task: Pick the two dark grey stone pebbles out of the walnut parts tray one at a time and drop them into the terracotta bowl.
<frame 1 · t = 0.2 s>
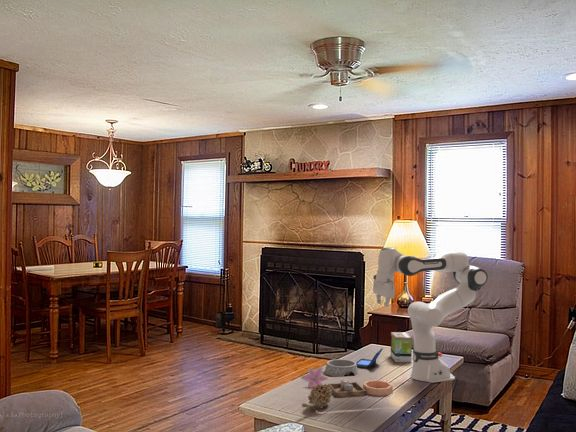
hand: (382, 304, 271), 39 cm above the table, tool pointing down, fingers open, 8 cm apart
tea box: (401, 359, 312), on the table
handheld game console: (368, 366, 299), on the table
dog bowl: (341, 372, 285), on the table
pine cone: (316, 410, 228), on the table
pebble b: (344, 389, 253), point 1 cm above the table, touching tray
lily: (314, 388, 259), on the table
bowl: (377, 392, 251), on the table
pebble a: (348, 393, 247), point 1 cm above the table, touching tray
tray: (346, 393, 250), on the table
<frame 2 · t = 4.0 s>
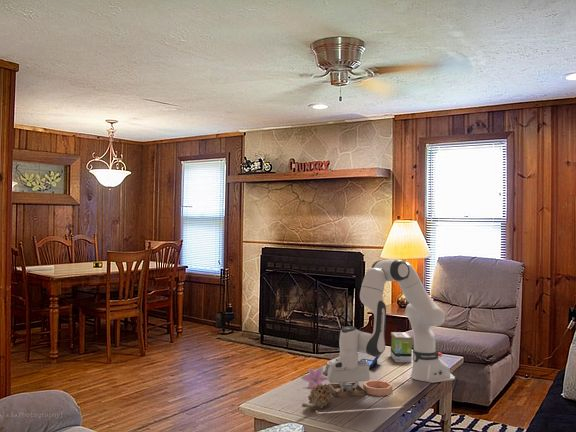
hand: (348, 391, 247), 2 cm above the table, tool pointing down, fingers closed on pebble a, 4 cm apart
pebble a: (348, 393, 247), point 1 cm above the table, touching gripper, tray
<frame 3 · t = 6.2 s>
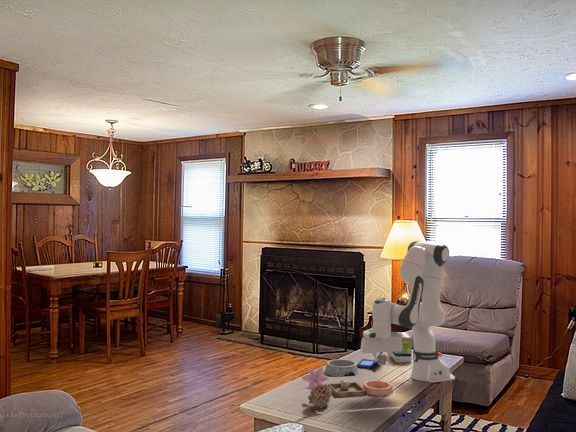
hand: (381, 361, 252), 15 cm above the table, tool pointing down, fingers closed on pebble a, 4 cm apart
pebble a: (381, 363, 252), point 14 cm above the table, touching gripper
when the fingers open (5 cm above the table, at t = 8.3 s): pebble a drops 3 cm, resting on bowl.
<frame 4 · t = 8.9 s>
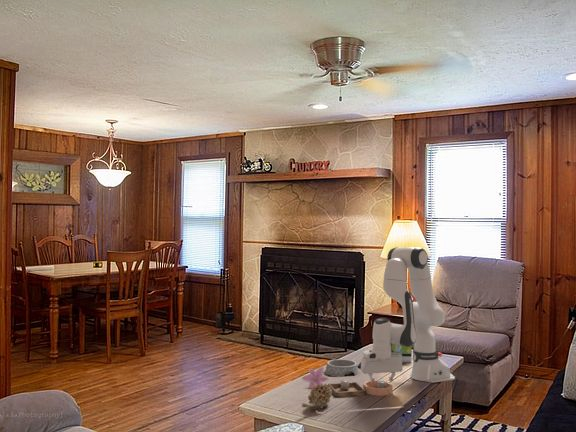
hand: (381, 381, 252), 5 cm above the table, tool pointing down, fingers open, 8 cm apart
pebble a: (381, 390, 252), point 1 cm above the table, touching bowl
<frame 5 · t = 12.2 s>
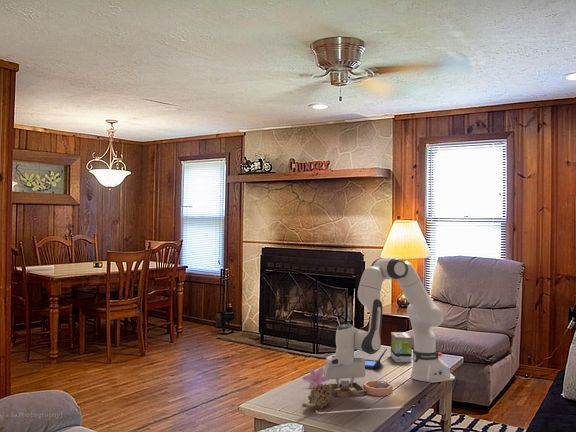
hand: (344, 387, 253), 2 cm above the table, tool pointing down, fingers closed on pebble b, 4 cm apart
pebble b: (344, 389, 253), point 1 cm above the table, touching gripper, tray
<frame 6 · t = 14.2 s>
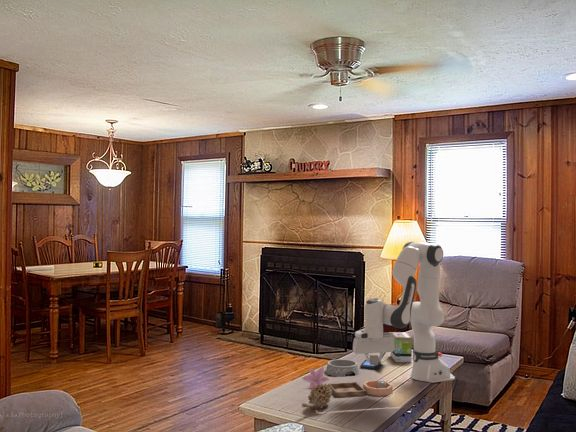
hand: (373, 361, 251), 15 cm above the table, tool pointing down, fingers closed on pebble b, 4 cm apart
pebble b: (374, 364, 251), point 14 cm above the table, touching gripper
when the fingers open (5 cm above the table, at t = 16.4 s): pebble b drops 3 cm, resting on bowl.
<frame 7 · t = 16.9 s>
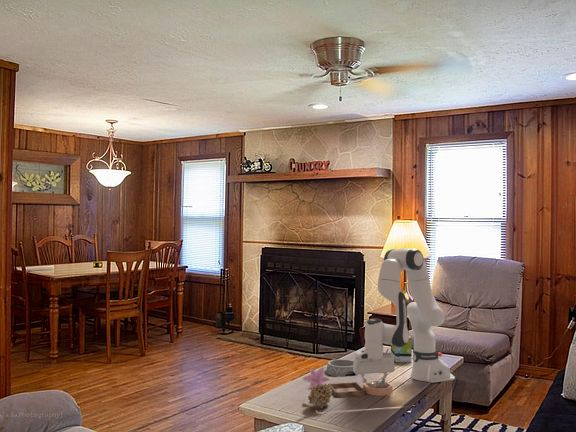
hand: (373, 382, 251), 5 cm above the table, tool pointing down, fingers open, 8 cm apart
pebble b: (371, 391, 251), point 1 cm above the table, touching bowl
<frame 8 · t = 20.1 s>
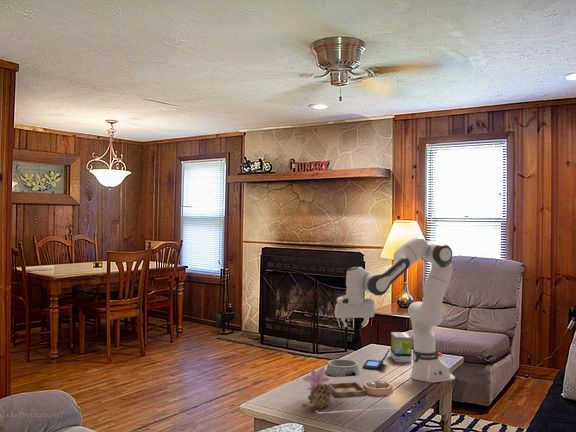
hand: (354, 326, 264), 29 cm above the table, tool pointing down, fingers open, 8 cm apart
at the end: pebble a inside the target area on the bowl (2.1 cm from its centre), point 0.8 cm above the bowl's base; pebble b inside the target area on the bowl (3.1 cm from its centre), point 0.8 cm above the bowl's base; the gripper is holding nothing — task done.
